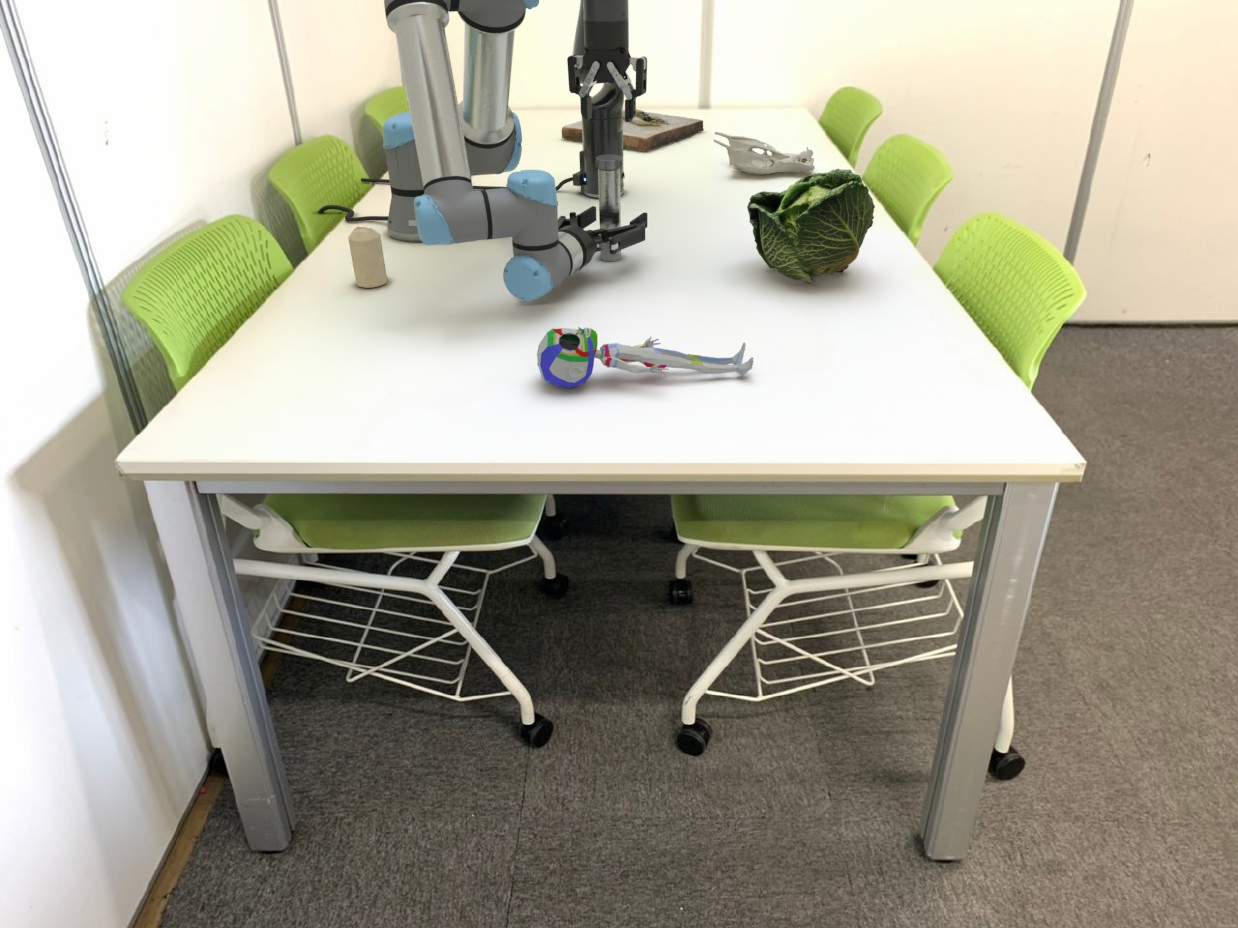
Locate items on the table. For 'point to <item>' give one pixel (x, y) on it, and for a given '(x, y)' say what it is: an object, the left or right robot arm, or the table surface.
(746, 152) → the anatomical model
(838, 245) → the vegetable
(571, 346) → the toy
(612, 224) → the grey long cylinder
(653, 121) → the plaque
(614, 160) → the lid
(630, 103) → the right robot arm
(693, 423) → the table surface
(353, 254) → the candle
